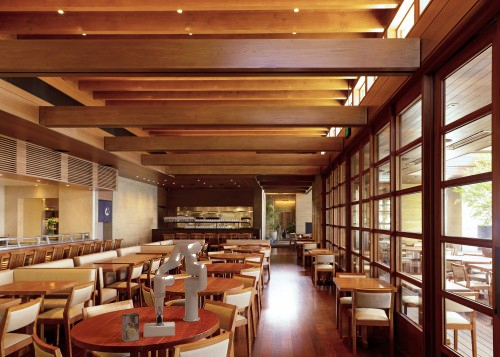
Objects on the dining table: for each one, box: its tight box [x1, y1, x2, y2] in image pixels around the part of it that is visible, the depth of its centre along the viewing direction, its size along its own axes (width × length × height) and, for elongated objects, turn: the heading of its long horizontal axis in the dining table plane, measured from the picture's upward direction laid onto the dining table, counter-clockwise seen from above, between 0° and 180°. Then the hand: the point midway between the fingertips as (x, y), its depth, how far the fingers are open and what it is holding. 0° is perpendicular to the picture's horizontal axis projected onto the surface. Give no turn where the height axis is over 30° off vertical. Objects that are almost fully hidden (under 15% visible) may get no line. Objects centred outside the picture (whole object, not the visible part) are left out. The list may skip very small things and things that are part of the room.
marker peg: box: [155, 314, 163, 326], centre depth 317 cm, size 4×4×12 cm
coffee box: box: [121, 312, 140, 343], centre depth 303 cm, size 9×6×16 cm
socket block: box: [143, 321, 176, 338], centre depth 317 cm, size 12×20×6 cm, turn 101°
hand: (159, 321), depth 317 cm, fingers open, 9 cm apart
